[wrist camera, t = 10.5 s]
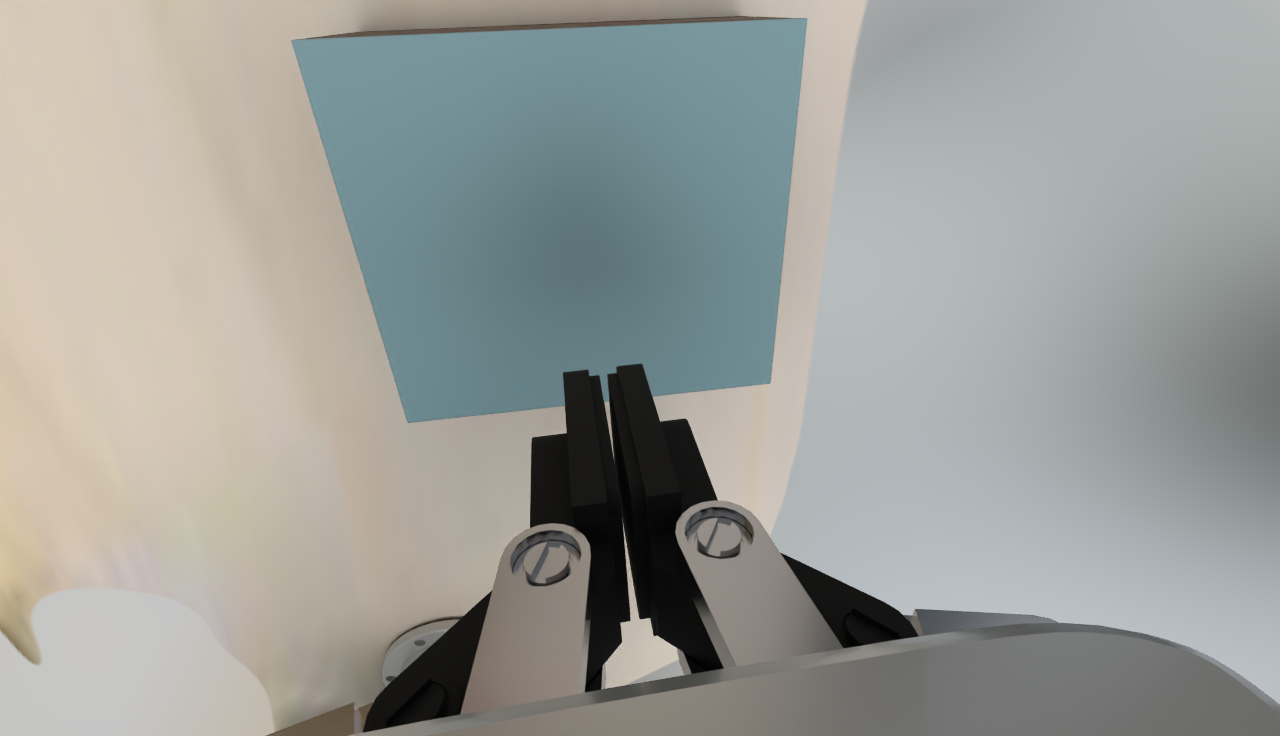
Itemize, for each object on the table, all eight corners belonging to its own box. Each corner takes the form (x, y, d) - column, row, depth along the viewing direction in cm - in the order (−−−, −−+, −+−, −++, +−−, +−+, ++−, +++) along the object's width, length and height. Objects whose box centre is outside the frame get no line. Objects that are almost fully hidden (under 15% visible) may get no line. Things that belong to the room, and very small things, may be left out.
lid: (762, 371, 31) (770, 383, 30) (412, 408, 29) (407, 423, 28) (795, 18, 22) (807, 18, 21) (303, 39, 20) (291, 40, 19)
